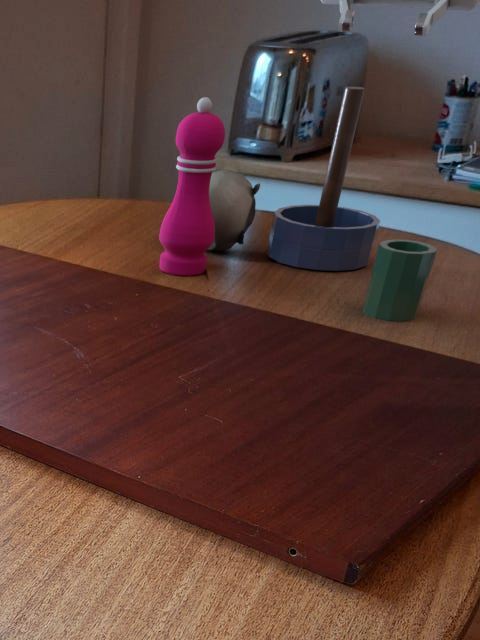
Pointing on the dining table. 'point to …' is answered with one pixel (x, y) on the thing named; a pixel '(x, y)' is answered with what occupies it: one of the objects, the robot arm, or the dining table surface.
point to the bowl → (322, 238)
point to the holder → (398, 280)
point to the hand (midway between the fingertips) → (381, 30)
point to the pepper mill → (192, 194)
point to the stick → (339, 155)
